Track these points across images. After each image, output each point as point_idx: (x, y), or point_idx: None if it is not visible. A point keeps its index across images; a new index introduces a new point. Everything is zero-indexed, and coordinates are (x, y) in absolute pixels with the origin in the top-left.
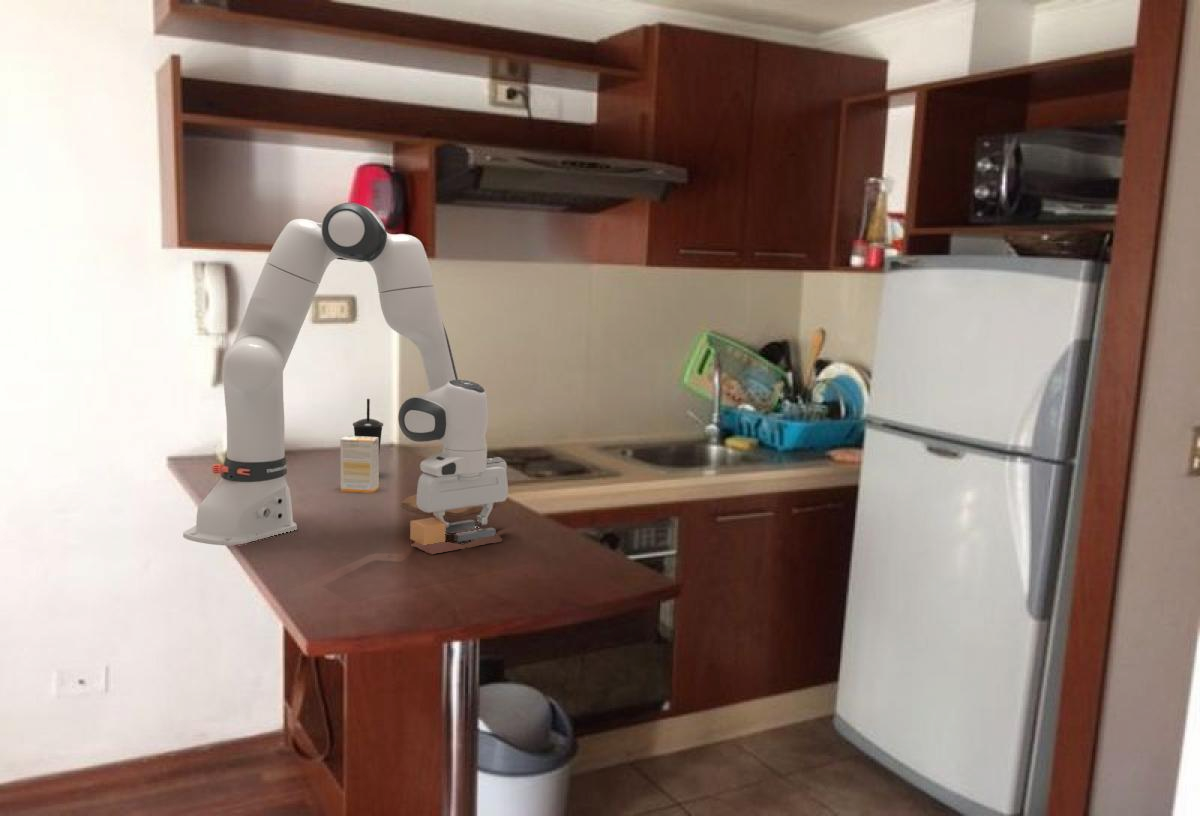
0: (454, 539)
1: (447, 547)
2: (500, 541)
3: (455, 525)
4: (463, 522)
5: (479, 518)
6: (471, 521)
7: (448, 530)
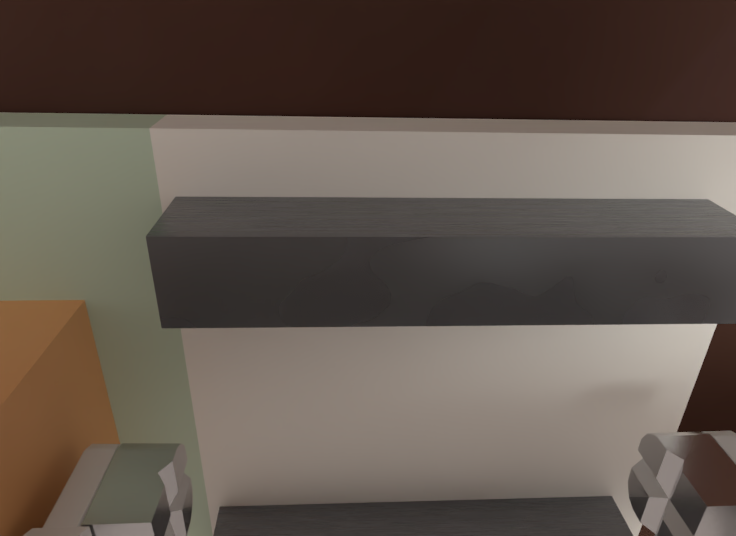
0: (216, 528)
1: None
2: None
3: (431, 319)
4: (578, 306)
5: (681, 515)
6: (692, 315)
7: (191, 507)
